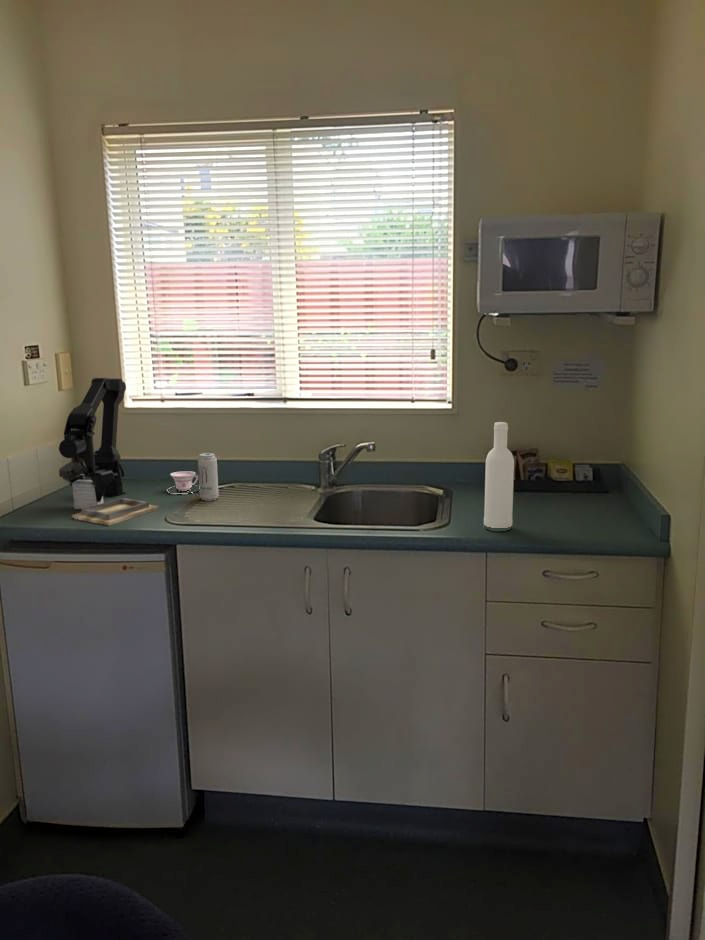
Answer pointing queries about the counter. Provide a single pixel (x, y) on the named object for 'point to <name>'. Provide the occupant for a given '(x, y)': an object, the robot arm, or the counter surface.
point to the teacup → (183, 480)
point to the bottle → (499, 481)
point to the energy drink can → (208, 476)
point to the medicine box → (84, 494)
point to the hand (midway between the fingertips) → (88, 500)
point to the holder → (115, 511)
